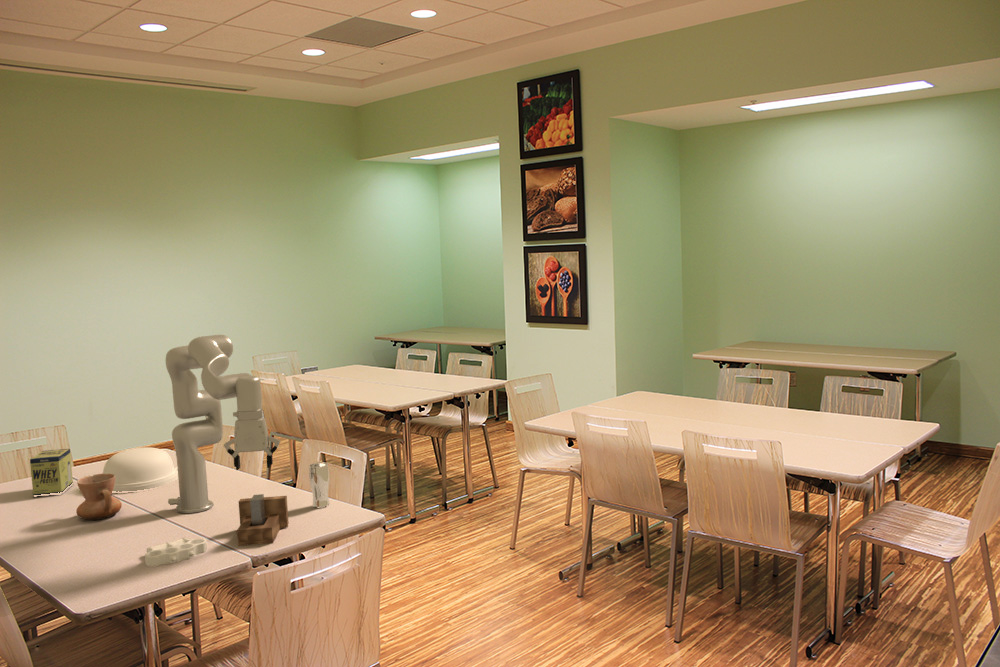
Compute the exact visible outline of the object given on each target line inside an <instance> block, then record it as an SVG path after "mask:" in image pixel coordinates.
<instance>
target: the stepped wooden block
mask: <svg viewBox="0 0 1000 667" xmlns="http://www.w3.org/2000/svg"><path fill="white" fill-rule="evenodd" d="M287 496H288V495H279V496H277V495H276V496H264V508H265V524H264V525H260V526H252V518H251V504H250V500H251V499H252V497H250V498H249V497H248V498H240V499H239V500H238V511H239V512H238V514H239V526H238V528H237V530H236V533H237V536H236V538H237V547H241V546H243V547H244V546H255V545H268V544H274V542H275V540H276V538H277V536H278V534H279V532H280V530H281V529H285V528H284V527H287V528H288V527H289V525H290V524H289V510H288V509H289V508H288V507H289V506H288V497H287ZM288 524H289V525H288Z"/></svg>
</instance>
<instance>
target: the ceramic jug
mask: <svg viewBox="0 0 1000 667" xmlns="http://www.w3.org/2000/svg"><path fill="white" fill-rule="evenodd" d="M76 484H77V486H78V489H79V491H80V494H82V496H83V498H84V499H85V500H84V501H83V502H81V503H80V504H79V505H78V506H77V508H76V515H77V516H78V517H79V518H80V519H83V520H90V521H92V520H95V519H97V520H103V519H107V518H109V517H112V516H115V515H116V514H117V513H119V511H121V509H122V507H123V506H122V505H123V504H122V501H121V500H120V499H119V498H118V497H117V498H116V497H114V496H112V491H113V488H114V484H115V475H114V474H110V473H103V472H102V473H95V474H93V475H87V476H83V477H80V478H79V479H78V480H77V481H76Z"/></svg>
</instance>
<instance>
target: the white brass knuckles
mask: <svg viewBox="0 0 1000 667" xmlns="http://www.w3.org/2000/svg"><path fill="white" fill-rule="evenodd" d="M207 551H208V543H207V540H206V539H205V538H194V539H193V538H190V539H189V538H188V537H183V538H181V539H177V540H173V541H168V542H165V543H162V544H159V545H154V546H149V547H147V548H146V553H145V555H144V561H145V566H146V565H147V567H158V566H162V565H165V564H167V565H168V564H173V563H178V562H180V561H184V560H189V559H192V558H194V557H195V556H197V555H199V554H204V553H206V552H207Z"/></svg>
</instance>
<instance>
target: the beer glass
mask: <svg viewBox="0 0 1000 667" xmlns="http://www.w3.org/2000/svg"><path fill="white" fill-rule="evenodd" d="M308 466H309V467H308V474H309V475H308V477H309V478H308V479H309V485H310V489H311V493H312V504H311V505H312V506H313V507H325V506H327V505H329V504H330V500H329V489H330V488H329V487H330V470H329V464H328V462H315V463H311V464H309V465H308ZM330 505H331V504H330ZM330 505H329V506H330ZM313 507H312V508H313ZM325 508H326V507H325Z"/></svg>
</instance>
